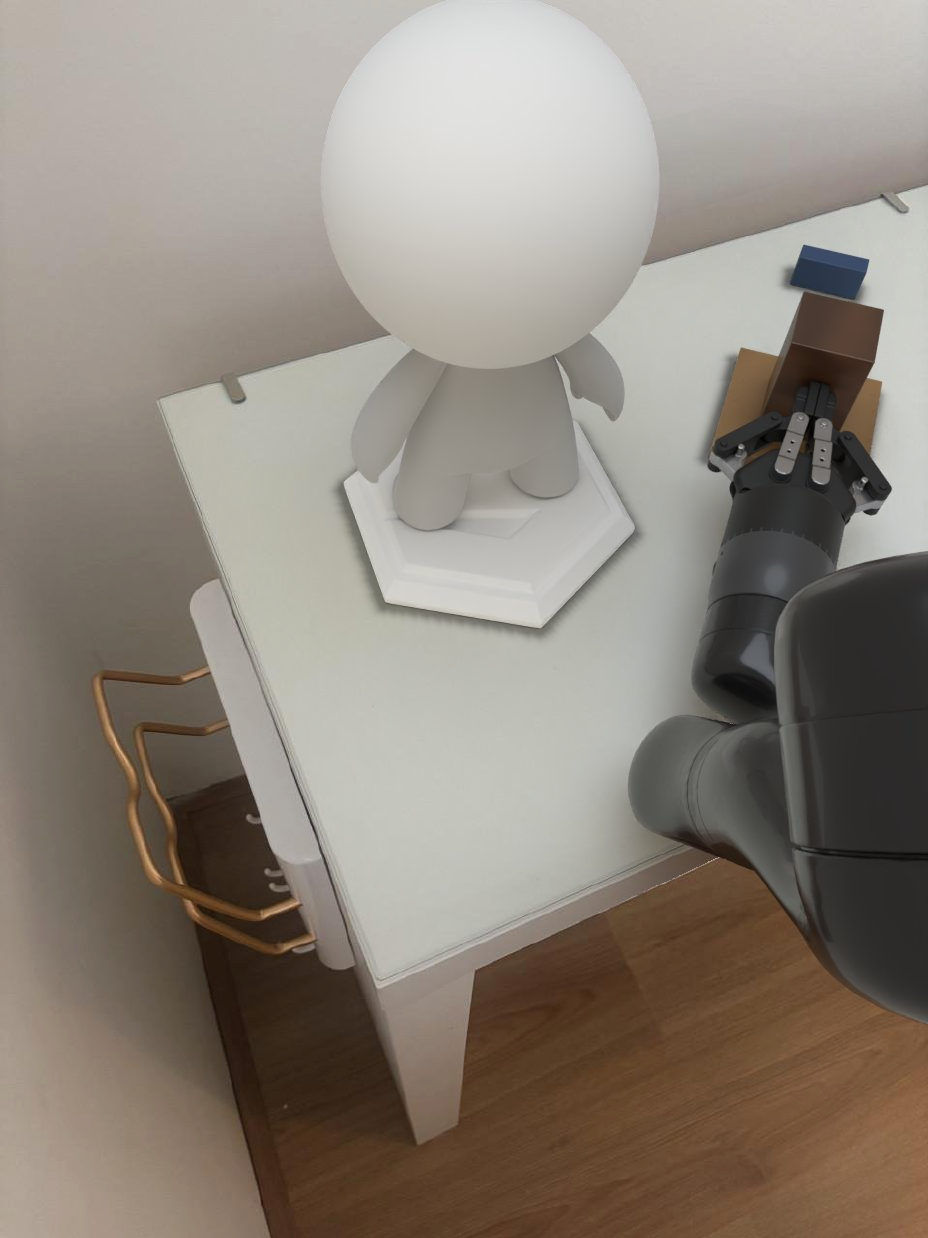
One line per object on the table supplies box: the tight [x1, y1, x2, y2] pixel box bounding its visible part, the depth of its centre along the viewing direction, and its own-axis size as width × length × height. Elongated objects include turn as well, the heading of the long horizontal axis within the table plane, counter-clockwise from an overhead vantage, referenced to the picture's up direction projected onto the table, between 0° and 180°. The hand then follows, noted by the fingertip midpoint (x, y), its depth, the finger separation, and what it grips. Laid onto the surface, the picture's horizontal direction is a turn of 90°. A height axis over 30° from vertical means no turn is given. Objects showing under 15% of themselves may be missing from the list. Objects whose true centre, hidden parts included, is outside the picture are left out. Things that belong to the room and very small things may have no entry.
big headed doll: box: [320, 0, 660, 629], centre depth 57 cm, size 20×23×35 cm
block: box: [707, 291, 885, 466], centre depth 72 cm, size 12×12×10 cm
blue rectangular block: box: [789, 244, 870, 300], centre depth 84 cm, size 6×2×3 cm, turn 69°
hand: (816, 391), depth 69 cm, fingers closed
